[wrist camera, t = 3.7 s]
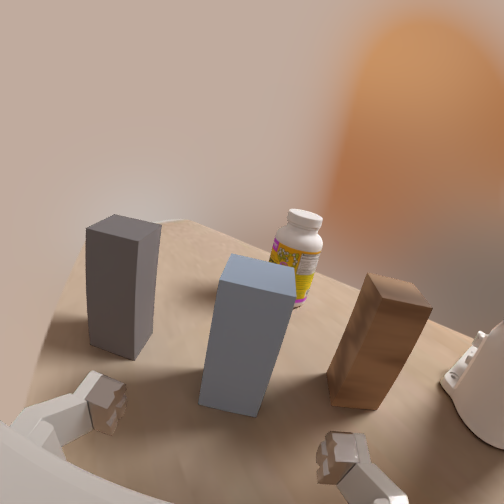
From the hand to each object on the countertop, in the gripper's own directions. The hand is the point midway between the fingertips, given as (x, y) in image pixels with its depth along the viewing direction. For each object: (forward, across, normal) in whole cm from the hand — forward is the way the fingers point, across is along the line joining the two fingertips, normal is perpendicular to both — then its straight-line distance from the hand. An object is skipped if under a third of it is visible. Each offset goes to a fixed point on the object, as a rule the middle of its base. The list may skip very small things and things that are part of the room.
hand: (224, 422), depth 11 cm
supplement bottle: (+34, -5, +11) cm, 36 cm away
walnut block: (+16, -12, +10) cm, 23 cm away
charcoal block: (+16, +12, +11) cm, 22 cm away
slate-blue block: (+13, 0, +11) cm, 17 cm away
